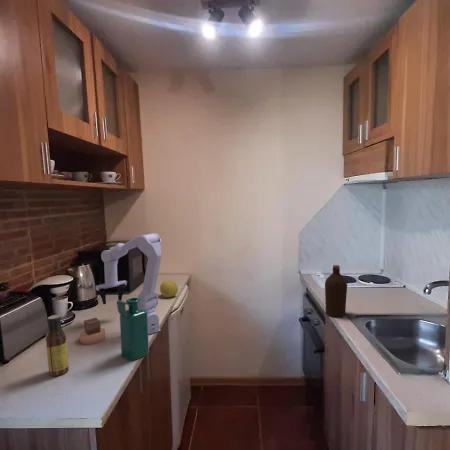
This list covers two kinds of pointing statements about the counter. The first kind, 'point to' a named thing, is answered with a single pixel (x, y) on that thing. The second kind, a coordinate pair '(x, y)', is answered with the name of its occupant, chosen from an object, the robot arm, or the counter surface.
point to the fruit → (168, 289)
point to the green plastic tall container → (133, 329)
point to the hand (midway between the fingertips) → (112, 302)
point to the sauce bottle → (56, 347)
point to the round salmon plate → (92, 337)
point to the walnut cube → (91, 326)
